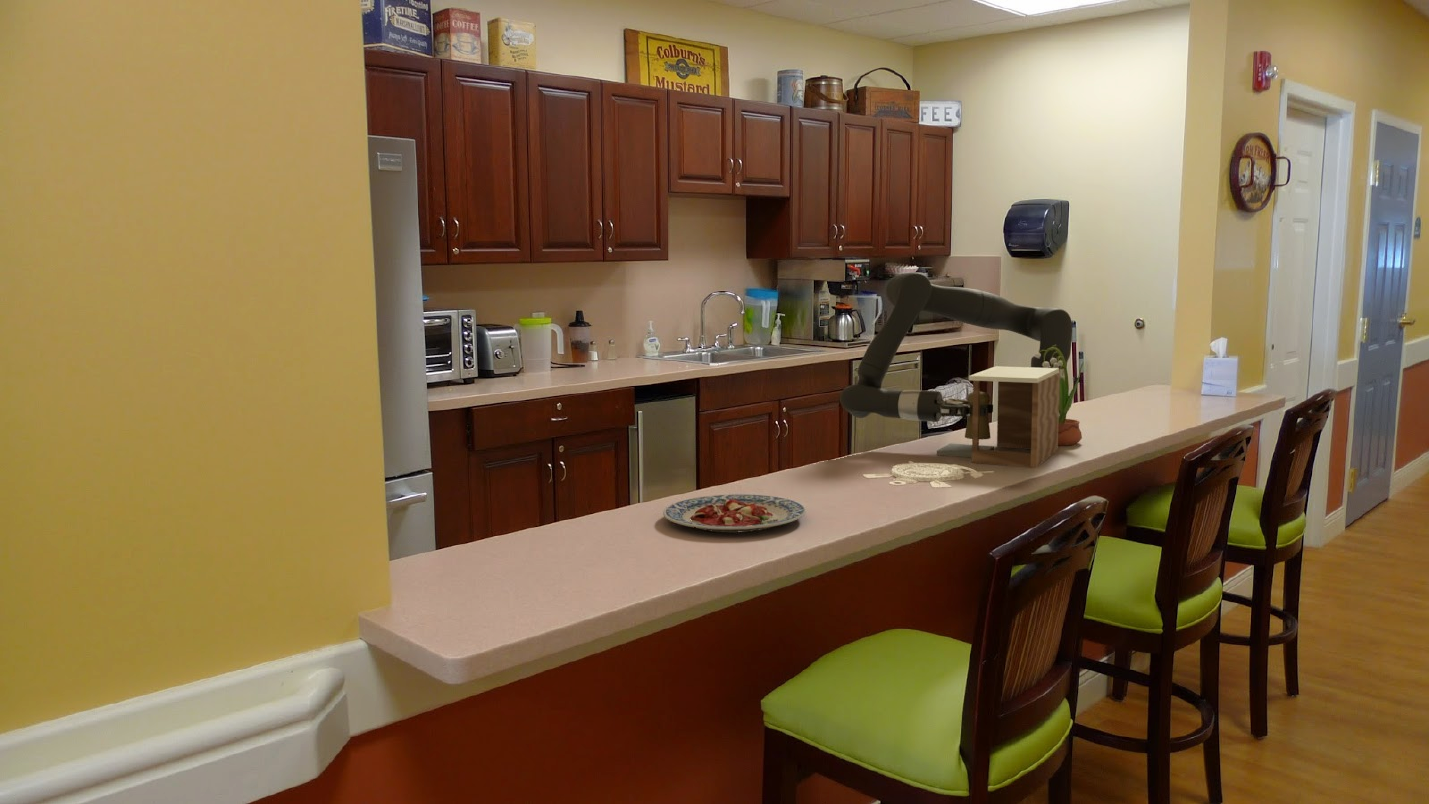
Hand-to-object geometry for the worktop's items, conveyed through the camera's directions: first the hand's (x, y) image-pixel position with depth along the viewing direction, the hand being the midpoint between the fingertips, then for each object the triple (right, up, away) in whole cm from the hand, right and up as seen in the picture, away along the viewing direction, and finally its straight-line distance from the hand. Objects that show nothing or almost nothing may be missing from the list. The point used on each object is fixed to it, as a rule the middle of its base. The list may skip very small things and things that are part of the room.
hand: (989, 409), depth 243 cm
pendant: (-19, -15, -20) cm, 32 cm away
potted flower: (+21, -9, +15) cm, 27 cm away
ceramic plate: (-62, -20, -58) cm, 87 cm away
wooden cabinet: (+6, -11, -2) cm, 12 cm away
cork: (-2, -7, +2) cm, 8 cm away
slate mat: (-5, -10, +4) cm, 12 cm away
